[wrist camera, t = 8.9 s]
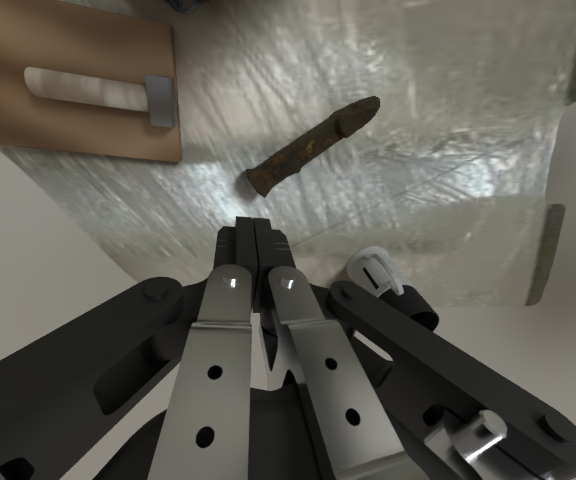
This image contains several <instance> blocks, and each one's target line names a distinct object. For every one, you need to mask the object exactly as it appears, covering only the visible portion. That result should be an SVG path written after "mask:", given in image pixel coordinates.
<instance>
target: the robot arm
mask: <svg viewBox="0 0 576 480" xmlns="http://www.w3.org/2000/svg"><path fill="white" fill-rule="evenodd" d="M252 308H253V313H260V325H259V334H260V340H261V346H262V351H263V357H264V363H265V368H266V374H267V384H268V387H267V391H266V390H260V389H255V388H250V378H251V343H252V325H250V316H251V310H252ZM356 330H357V331H358V332H360V333H361V334H362V335H364V336H365V337H366V338H368V339H369V340H370V341H372V342H373V343H374V344H376V345H377V346H378V347H380V348H381V349H383V350H384V351H385V352H387V353H388V354H389V355H390V356H391V357H392V359H393V361H388V360H385V359H384V358H382V357H381V356H379V355H378V354H377V353H376V352H374V351H373V350H372V349H370V348H369V347H368V346H366V345H365V344H363V343H362V342H361V341H360V340H358V339H357V338H356V337H354V334H355V332H356ZM180 361H181V362H180ZM179 362H180V366H179V369H178V373H177V377H176V380H175V383H174V387H173V391H172V394H171V398H170V401H169V405H168V408H167V409H166V410H165V411H163V412H161V413H160V414H158V415H157V416H155V417H154V418H152V419H151V420H150V421H148V422H147V423H146V424H145V425H143V426H142V427H141V428H140V429H139V430H138V431H137V432H136V433H135V434H133V435H132V436H131V437H130V438H129V440H128V441H127V442H126V443H125V444H124V445H123V446H122V447H121V448H120V449H119V450H118V452H117V453H116V454H115V455H114V456H113V457H112V458H111V459H110V460H109V462H108V463H107V464H106V465H105V466H104V467H103V469H101V471H100V472H99V473H98V474H97V475H96V476H95V477H94V478H93V479H92V480H571V479H573V478H576V426H575V425H574V424H573V423H572V422H571V421H570V420H568V419H567V418H566V417H565V416H564V415H562V414H561V413H560V412H558V411H557V410H556V409H554V408H553V407H551V406H549V405H548V404H546V403H544V402H543V401H541V400H540V399H538V398H537V397H535V396H533V395H532V394H530V393H529V392H527V391H526V390H524V389H522V388H521V387H519V386H518V385H516V384H514V383H513V382H511V381H510V380H508V379H507V378H505V377H503V376H502V375H500V374H499V373H497V372H495V371H494V370H492V369H491V368H489V367H487V366H486V365H484V364H483V363H481V362H479V361H478V360H476V359H475V358H473V357H471V356H470V355H468V354H467V353H465V352H463V351H462V350H460V349H459V348H457V347H455V346H454V345H452V344H451V343H449V342H448V341H446V340H444V339H443V338H441V337H440V336H438V335H437V334H435V333H433V332H432V331H430V330H429V329H427V328H425V327H424V326H422V325H421V324H419V323H417V322H416V321H414V320H413V319H411V318H410V317H408V316H406V315H405V314H403V313H402V312H400V311H398V310H397V309H395V308H394V307H392V306H390V305H389V304H387V303H386V302H384V301H382V300H381V299H379V298H378V297H376V296H375V295H373V294H371V293H370V292H368V291H367V290H365V289H363V288H362V287H360V286H359V285H357V284H355V283H352V282H349V281H336V282H334V283H333V284H332V285H331V287H330V289H327V288H323V287H319V286H316V285H313V284H310V283H309V282H308V280H307V278H306V276H305V275H304V274H303V273H302V272H301V271H299V270H298V269H296V266H295V263H294V260H293V257H292V254H291V250H290V247H289V244H288V241H287V238H286V236H285V235H284V234H283V233H282V232H281V231H280V230H273V229H272V228H271V224H270V220H269V219H265V218H253V219H252V218H251V217H238V216H236V224H235V227H228V226H223V227H222V228H221V229H220V230H219V231H218V235H217V243H216V251H215V259H214V267H213V270H212V271H211V273H210V274H209V277H208V278H207V279H205V280H204V281H202V282H199V283H197V284H193V285H188V286H184V287H182V285H181V284H180V283H179V282H178V281H177V280H175V279H172V278H169V277H154V278H150V279H147V280H144V281H142V282H140V283H138V284H136V285H135V286H133V287H131V288H129V289H127V290H126V291H124V292H122V293H120V294H118V295H116V296H115V297H113V298H111V299H109V300H108V301H106V302H104V303H102V304H101V305H99V306H97V307H95V308H93V309H91V310H90V311H88V312H86V313H84V314H83V315H81V316H79V317H77V318H75V319H74V320H72V321H70V322H68V323H67V324H65V325H63V326H61V327H59V328H57V329H56V330H54V331H52V332H50V333H49V334H47V335H45V336H43V337H41V338H40V339H38V340H36V341H34V342H33V343H31V344H29V345H27V346H25V347H24V348H22V349H20V350H18V351H16V352H15V353H13V354H11V355H9V356H8V357H6V358H4V359H2V360H0V480H59V479H60V478H61V477H62V476H63V475H64V474H65V473H66V472H67V471H68V470H70V469H71V467H73V466H74V465H75V464H76V463H77V462H78V461H79V460H80V459H81V458H82V457H83V456H84V455H85V454H86V453H87V452H88V451H89V450H90V449H91V448H92V447H93V446H94V445H95V444H96V443H97V442H98V441H99V440H100V439H101V438H102V437H103V436H104V435H106V434H107V432H109V431H110V430H111V429H112V428H113V426H115V425H116V424H117V423H118V422H119V421H120V420H121V419H122V418H123V417H124V416H125V415H126V414H127V413H128V412H129V411H130V410H131V409H132V408H133V407H134V406H135V405H136V404H137V403H138V402H139V401H140V400H141V399H142V398H143V397H145V396H146V395H147V394H148V393H149V392H150V391H151V390H152V389H153V388H154V387H155V386H156V385H157V384H158V383H159V382H160V381H161V380H162V379H163V378H164V377H165V376H166V375H167V374H168V373H169V372H170V371H171V370H172V369H173V368H174V367H175V366H176V365H177V364H178V363H179Z"/></svg>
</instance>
